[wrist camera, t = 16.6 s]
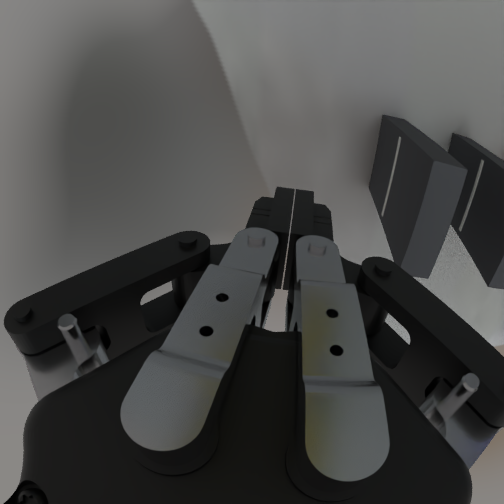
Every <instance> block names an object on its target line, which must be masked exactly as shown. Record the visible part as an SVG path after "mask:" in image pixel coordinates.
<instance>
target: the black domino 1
mask: <svg viewBox="0 0 504 504" xmlns="http://www.w3.org/2000/svg"><path fill="white" fill-rule="evenodd" d="M467 171H468V170H467V169H466V168H465V167H464V166H463V165H462V164H461V163H460V162H458V161H457V160H456V159H455V158H454V157H452V156H451V155H450V154H449V153H448V152H446V151H445V150H444V149H443V148H442V147H440V146H439V145H438V144H437V143H435V142H434V141H433V140H432V139H430V138H429V137H428V136H426V135H425V134H424V133H422V132H421V131H420V130H418V129H417V128H416V127H414V126H413V125H412V124H410V123H409V122H407V121H406V120H404V119H400V118H395V117H391V116H387V115H382V122H381V128H380V133H379V139H378V145H377V150H376V155H375V160H374V165H373V170H372V175H371V180H370V185H369V189H370V192H371V195H372V197H373V200H374V203H375V206H376V208H377V211H378V214H379V217H380V220H381V223H382V225H383V228H384V231H385V234H386V237H387V241H388V244H389V247H390V250H391V253H392V256H393V260H394V263H395V264H397V265H398V266H399V267H401V268H402V269H403V270H404V271H406V272H407V273H408V274H409V275H411V276H413V277H420V278H427V279H428V278H429V276H430V274H431V272H432V269H433V267H434V265H435V262H436V260H437V257H438V255H439V253H440V250H441V248H442V245H443V242H444V240H445V237H446V235H447V232H448V229H449V227H450V224H451V221H452V218H453V215H454V213H455V210H456V207H457V204H458V201H459V198H460V194H461V191H462V188H463V185H464V181H465V178H466V175H467Z"/></svg>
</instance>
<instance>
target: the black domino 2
mask: <svg viewBox="0 0 504 504" xmlns="http://www.w3.org/2000/svg"><path fill="white" fill-rule="evenodd" d="M448 153H449V154H450V155H451V156H452V157H454V158H455V159H456V160H457V161H458V162H460V163H461V164H462V165H463V166H464V167H465V168H466V169H467V170H468V171H467V175H466V178H465V181H464V185H463V188H462V191H461V194H460V198H459V201H458V204H457V207H456V210H455V213H454V215H453V218H452V221H451V225H452V227H453V228H454V230H455V231H456V233H457V235H458V236H459V238H460V239H461V241H462V242H463V244H464V246H465V247H466V249H467V251H468V252H469V254H470V256H471V257H472V259H473V261H474V263H475V264H476V266H477V268H478V270H479V271H480V273H481V275H482V277H483V279H484V281H485V282H486V284H487V286H488V287H492V288H499V289H504V161H503V160H501V159H500V158H499V157H497V156H496V155H494V154H493V153H491V152H490V151H489V150H487V149H486V148H484V147H483V146H481V145H480V144H478V143H477V142H475V141H474V140H472V139H470V138H467V137H464V136H461V135H458V134H455V133H453V134H452V138H451V143H450V147H449V151H448Z"/></svg>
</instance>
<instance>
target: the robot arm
mask: <svg viewBox="0 0 504 504" xmlns="http://www.w3.org/2000/svg"><path fill="white" fill-rule="evenodd" d="M293 197H294V189H291V188H283V187H277V188H276V192H275V196H274V198H270V197H261V198H260V199H258V200H257V201H255V204H254V207H253V209H252V212H251V215H250V217H249V220H248V223H247V225H246V228H245V229H243V230H241V231H239V232H238V233H237V234H236V235H235V237H234V239H233V241H232V242H231V243H228V244H220V245H210V239H209V238H208V237H207V236H206V235H205V234H203V233H200V232H197V231H183V232H179V233H176V234H174V235H171V236H169V237H166V238H164V239H161V240H159V241H156V242H154V243H151V244H149V245H146V246H144V247H141V248H139V249H137V250H134V251H132V252H129V253H127V254H124V255H122V256H120V257H117V258H115V259H112V260H110V261H108V262H105V263H103V264H101V265H98V266H96V267H94V268H92V269H89V270H87V271H85V272H82V273H80V274H77V275H75V276H73V277H71V278H68V279H66V280H64V281H62V282H60V283H57V284H55V285H53V286H51V287H48V288H46V289H44V290H42V291H39V292H37V293H35V294H33V295H31V296H29V297H26V298H24V299H22V300H20V301H18V302H17V303H15V304H14V305H13V306H12V307H11V308H10V309H9V310H8V311H7V313H6V315H5V318H4V326H5V328H6V330H7V332H8V333H9V335H10V336H11V338H12V340H13V341H14V343H15V344H16V347H17V349H18V351H19V352H20V354H21V355H22V357H23V358H24V359H25V361H26V364H27V368H28V371H29V374H30V377H31V381H32V383H33V387H34V390H35V392H36V395H37V398H38V401H39V402H38V403H37V404H36V405H35V406H34V407H33V409H32V411H31V412H30V414H29V416H28V418H27V420H26V423H25V428H24V435H23V436H24V437H23V442H24V443H23V446H24V454H23V467H22V473H21V479H20V483H19V485H18V487H17V489H16V491H15V492H14V493H13V495H12V496H11V497H10V498H9V499H8V500H7V501H6V502H5V503H4V504H470V502H471V497H472V481H471V476H470V473H469V469H470V468H471V466H472V465H473V464H474V463H475V461H476V460H477V459H478V457H479V456H480V455H481V454H482V452H483V451H484V450H485V448H486V447H487V445H488V444H489V443H490V441H491V440H492V439H493V437H494V436H495V434H496V433H497V432H499V431H500V430H501V429H502V428H504V357H503V356H502V355H501V354H500V353H499V352H498V351H497V350H496V349H495V348H494V347H493V346H492V345H491V344H490V343H489V342H487V341H486V340H485V339H484V338H483V337H482V336H481V335H480V334H479V333H478V332H476V331H475V330H474V329H473V328H472V327H471V326H470V325H469V324H468V323H466V322H465V321H464V320H463V319H462V318H461V317H460V316H458V315H457V314H456V313H455V312H454V311H453V310H452V309H450V308H449V307H448V306H447V305H446V304H445V303H443V302H442V301H441V300H440V299H439V298H437V297H436V296H435V295H434V294H433V293H431V292H430V291H429V290H428V289H427V288H425V287H424V286H423V285H422V284H421V283H419V282H418V281H417V280H416V279H414V278H413V277H412V276H411V275H409V274H408V273H407V272H406V271H404V270H403V269H402V268H401V267H399V266H398V265H397V264H395V263H394V262H392V261H391V260H388V259H386V258H382V257H369V258H366V259H365V260H364V261H363V262H362V265H358V264H356V263H353V262H350V261H348V260H346V259H344V258H343V257H341V256H340V253H339V249H338V246H337V245H336V244H335V243H334V242H333V230H332V220H331V211H330V210H329V209H328V208H327V207H326V205H322V204H315V203H314V192H313V191H306V190H299V189H296V194H295V202H294V210H293V218H292V226H291V233H290V241H289V248H288V256H287V263H286V270H285V277H284V285H283V290H288V297H287V304H286V321H285V332H272V331H269V330H266V329H264V326H265V323H266V320H267V316H268V313H269V309H270V306H271V300H272V297H273V296H274V292H275V289H281V285H282V278H283V272H284V265H285V258H286V251H287V244H288V237H289V229H290V222H291V214H292V206H293ZM169 281H172V288H173V290H172V291H170V292H168V293H166V294H164V295H162V296H160V297H158V298H156V299H154V300H151V301H150V302H147V303H145V304H144V305H141V306H140V301H141V299H142V297H143V295H144V294H145V293H147V292H148V291H150V290H152V289H155V288H157V287H159V286H161V285H163V284H165V283H167V282H169ZM388 313H389V314H390V315H391V316H392V317H394V318H395V319H396V320H397V321H398V322H399V323H400V324H401V325H402V326H403V327H404V328H405V329H406V330H407V331H408V333H409V335H410V345H409V344H408V343H406V342H405V341H404V340H403V339H402V338H401V337H400V336H399V335H398V334H397V333H396V332H395V331H394V330H393V329H392V328H391V327H390V326H389V325H388V324H387V323H386V322H385V319H386V317H387V315H388Z"/></svg>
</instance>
